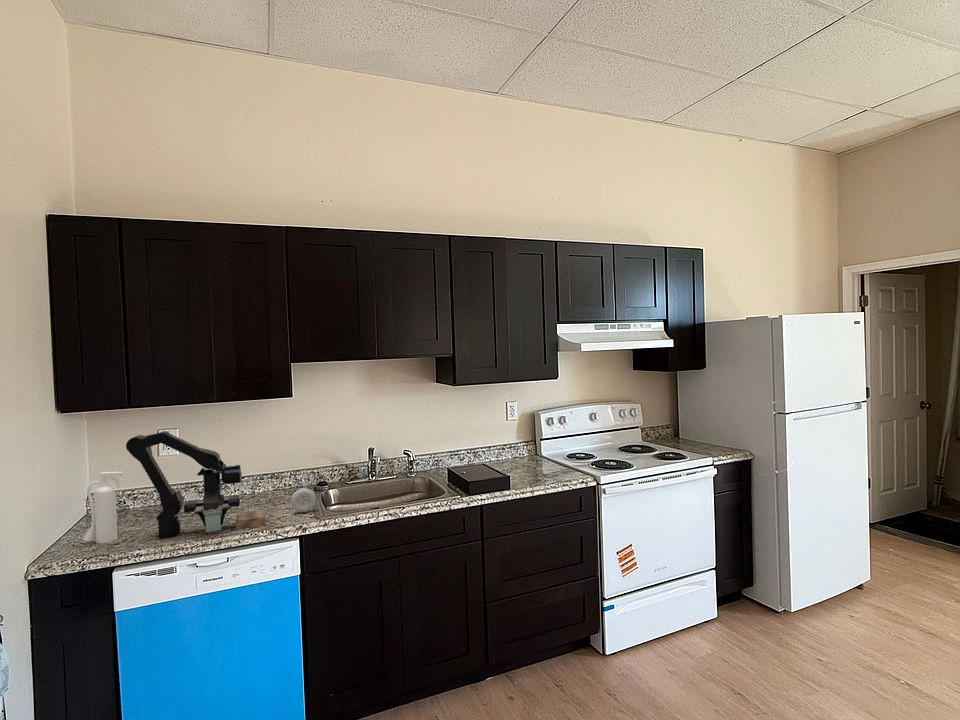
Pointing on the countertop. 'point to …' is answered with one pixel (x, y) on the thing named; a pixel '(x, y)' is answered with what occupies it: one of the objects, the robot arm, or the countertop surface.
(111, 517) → the fire extinguisher
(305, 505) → the donut
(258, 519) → the walnut base
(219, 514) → the sage block
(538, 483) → the countertop surface
